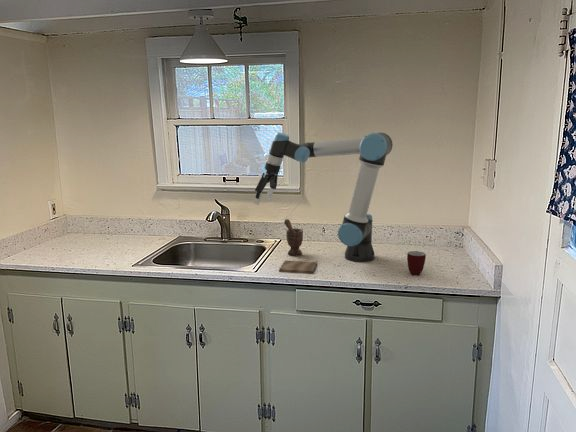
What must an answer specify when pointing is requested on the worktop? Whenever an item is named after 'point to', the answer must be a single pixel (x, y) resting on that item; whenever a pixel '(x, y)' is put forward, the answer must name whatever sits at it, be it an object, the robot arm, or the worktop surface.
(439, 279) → the worktop surface
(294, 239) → the mortar and pestle
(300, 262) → the walnut cutting board
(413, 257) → the mug
